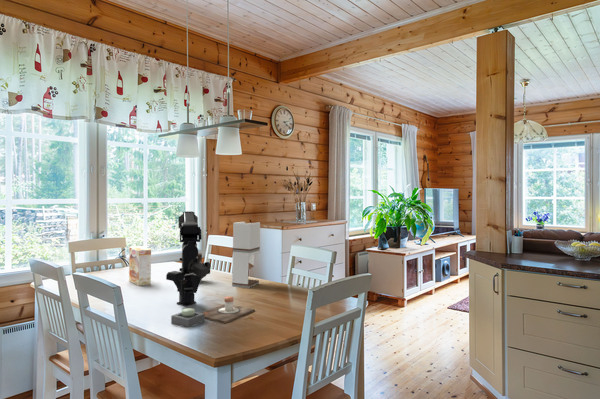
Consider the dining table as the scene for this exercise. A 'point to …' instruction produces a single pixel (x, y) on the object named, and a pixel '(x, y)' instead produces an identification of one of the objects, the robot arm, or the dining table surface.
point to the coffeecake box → (140, 265)
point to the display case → (244, 252)
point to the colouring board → (226, 313)
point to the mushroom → (229, 303)
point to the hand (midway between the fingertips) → (188, 294)
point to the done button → (188, 312)
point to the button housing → (187, 319)
